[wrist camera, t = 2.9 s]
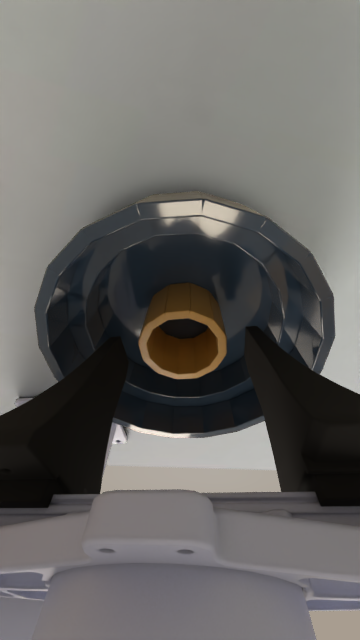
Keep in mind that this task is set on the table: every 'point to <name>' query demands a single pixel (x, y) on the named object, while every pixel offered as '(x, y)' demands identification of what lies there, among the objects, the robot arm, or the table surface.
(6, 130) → the table surface
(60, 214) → the table surface
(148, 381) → the bowl
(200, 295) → the ring
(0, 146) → the table surface
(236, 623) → the robot arm
